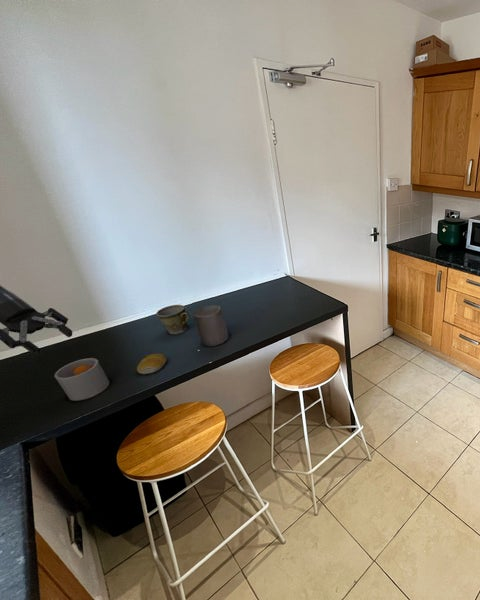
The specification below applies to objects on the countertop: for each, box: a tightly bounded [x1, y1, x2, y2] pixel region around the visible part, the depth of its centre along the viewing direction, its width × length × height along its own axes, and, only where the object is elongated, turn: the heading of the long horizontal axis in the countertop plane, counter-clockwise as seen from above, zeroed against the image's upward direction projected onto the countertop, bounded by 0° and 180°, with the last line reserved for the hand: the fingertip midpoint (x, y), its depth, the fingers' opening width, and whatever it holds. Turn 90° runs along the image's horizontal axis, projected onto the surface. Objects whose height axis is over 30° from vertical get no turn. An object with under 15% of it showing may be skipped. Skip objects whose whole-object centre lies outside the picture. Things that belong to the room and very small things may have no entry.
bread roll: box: [136, 353, 168, 375], centre depth 114 cm, size 8×9×4 cm
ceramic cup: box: [156, 304, 191, 335], centre depth 134 cm, size 13×10×10 cm
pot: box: [54, 357, 110, 402], centre depth 102 cm, size 10×10×9 cm
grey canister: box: [192, 304, 230, 347], centre depth 126 cm, size 10×10×15 cm
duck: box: [74, 365, 93, 376], centre depth 103 cm, size 6×5×8 cm
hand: (55, 343), depth 96 cm, fingers open, 8 cm apart
